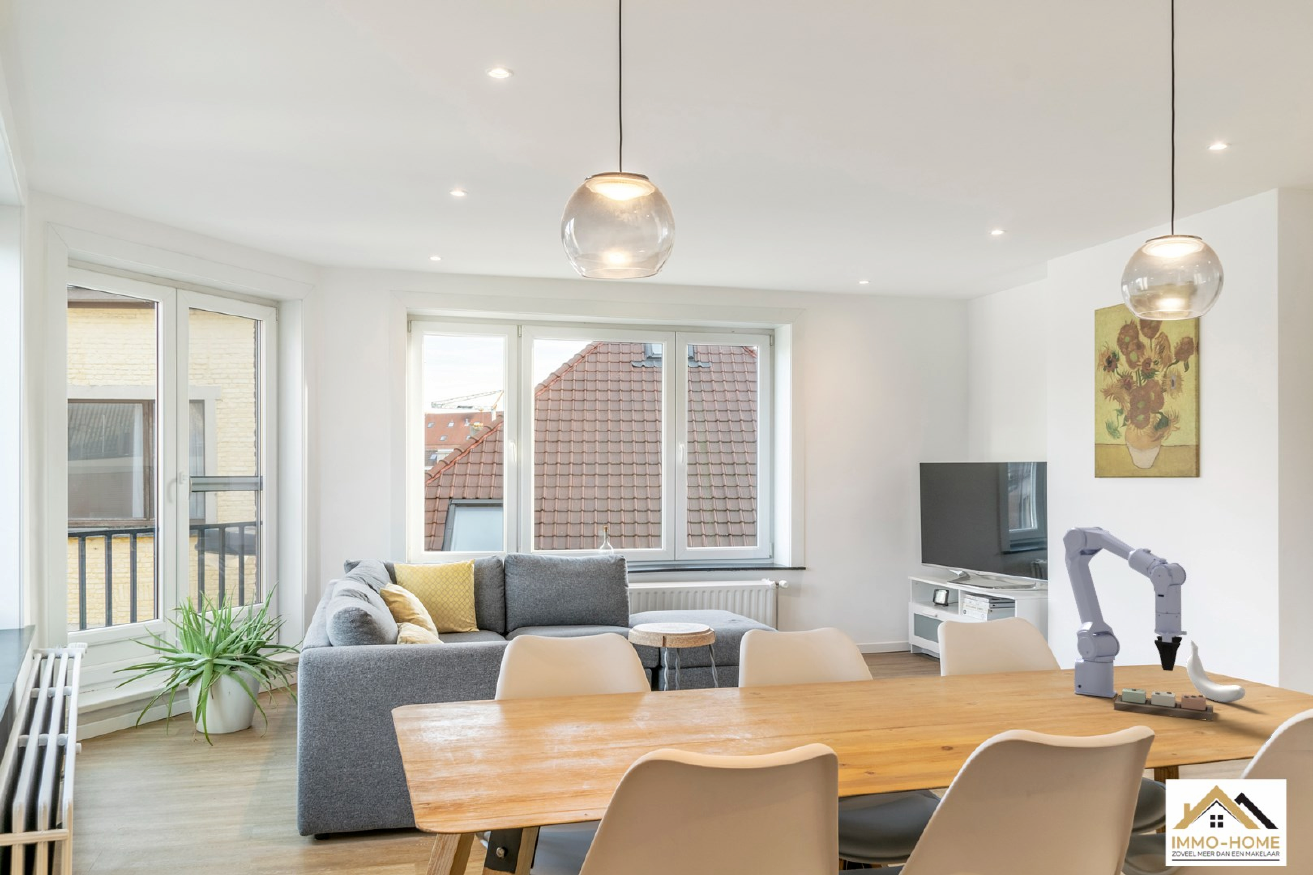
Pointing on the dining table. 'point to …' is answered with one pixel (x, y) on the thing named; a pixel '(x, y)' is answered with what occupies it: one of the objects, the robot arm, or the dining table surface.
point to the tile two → (1163, 698)
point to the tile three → (1193, 702)
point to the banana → (1210, 681)
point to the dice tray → (1164, 709)
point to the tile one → (1134, 695)
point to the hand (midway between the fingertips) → (1168, 667)
